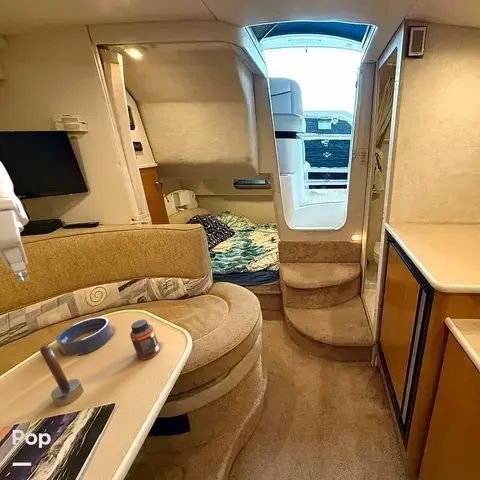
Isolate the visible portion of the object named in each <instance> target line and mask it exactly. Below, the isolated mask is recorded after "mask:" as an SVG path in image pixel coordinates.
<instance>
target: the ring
mask: <svg viewBox="0 0 480 480" xmlns="http://www.w3.org/2000/svg"><path fill="white" fill-rule="evenodd" d="M93 331H96V332H95V333H92V334H91V335H89V336H87V337H84V338H82V339H78V340H76V339H77V338H79V337H81V336H83V335H85V334H88V333H91V332H93ZM113 336H114V333H113V328H112V325H111V322H110V320H109V319H108V318H107V317H104V316H97V317H92V318H87V319H85V320H82V321H79V322H76V323H74V324H73V325H71V326H69V327H67V328H66V329H64V330H63V331H61V332H60V333H59V334H58V336H57V337H56V342H57V344H58V345H57V346H58V347H59V349H60V351H61V353H62V354H64V355H66V356H74V355H77V357H80V356H85V355H87V354H89V353H92V352H94V351H96V350H98V349H100V348H101V347H103V346H104V345H106V344H107V343H108V342H109V340H111V338H112V337H113Z"/></svg>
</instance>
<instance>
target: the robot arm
mask: <svg viewBox="0 0 480 480" xmlns="http://www.w3.org/2000/svg"><path fill="white" fill-rule="evenodd" d="M14 191H15V190H14V184H13V181H12V179H11V178H10V175H9V173H8V171H7V170H6V168H5V166H4V165H3V163H2V161H0V259H1V261H2V262H3V264H4V266H5V268H6V269H9V270H12V272H13V274H14V275H15V277H16V280H17V281H18V282H19V283H23V282H27V281H29V280H30V277H29V274H28V271H27V268H26V266H27V265H28V264H29V262H28V261H29V260H28V258H27V255H26V251H25V248H24V245H23V241H22V238H21V233H22V232H23V231H24V230H25V228H24V226H26V225H27V224H28V223H29V218H28V216H27V213H26V211H25V209H24V206H23V204H22V201H21V200H20V199H19V198H18V197H17V195H16V194H15V192H14Z"/></svg>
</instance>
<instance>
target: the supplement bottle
mask: <svg viewBox="0 0 480 480" xmlns="http://www.w3.org/2000/svg"><path fill="white" fill-rule="evenodd" d="M130 328H131V331H130V334H129V337H130V340H131V342H132V346H133V348H134V351H135V353H136V356H137V358H138V359H139V360H141V361H146V360H149V359H152V358H153V357H155V356H156V355H157V354H158V353H159V352H160V350H161V347H160V344H159V341H158V338H157V335H156V332H155V329H154V326H153V325H152V324H149V323H148V321H147V320H146V319H144V318H143V319H138V320H136V321H134V322H133V323H131V325H130Z"/></svg>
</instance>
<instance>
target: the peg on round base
mask: <svg viewBox="0 0 480 480" xmlns="http://www.w3.org/2000/svg"><path fill="white" fill-rule="evenodd" d="M39 353H40V354H41V356H42V358H43V359H44V362H45V363H46V365H47V367H48V369H49V371H50V372H51V375H52V376H53V379H54V380H55V382H56V384H57V386H56V387H54V389H53V390H52V391H51V393H50V398H51V399H52V401H53V403H54V404H55V406H56V407H64V406H67V405H69V404H71V403H73V402H75V401H76V400H77V399H79V398H80V396H82V395H83V393H84V387H83V385H82V383H81V381H80V379H78V378H72V379H67V377H66V375H65V372H64V371H63V368H62V367H61V365H60V363H59V361H58V359H57V357H56V355H55V353H54V351H53V349H52V347H51V346H50V345H48V344H45V345H42V346H41V347H40V348H39Z"/></svg>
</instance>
